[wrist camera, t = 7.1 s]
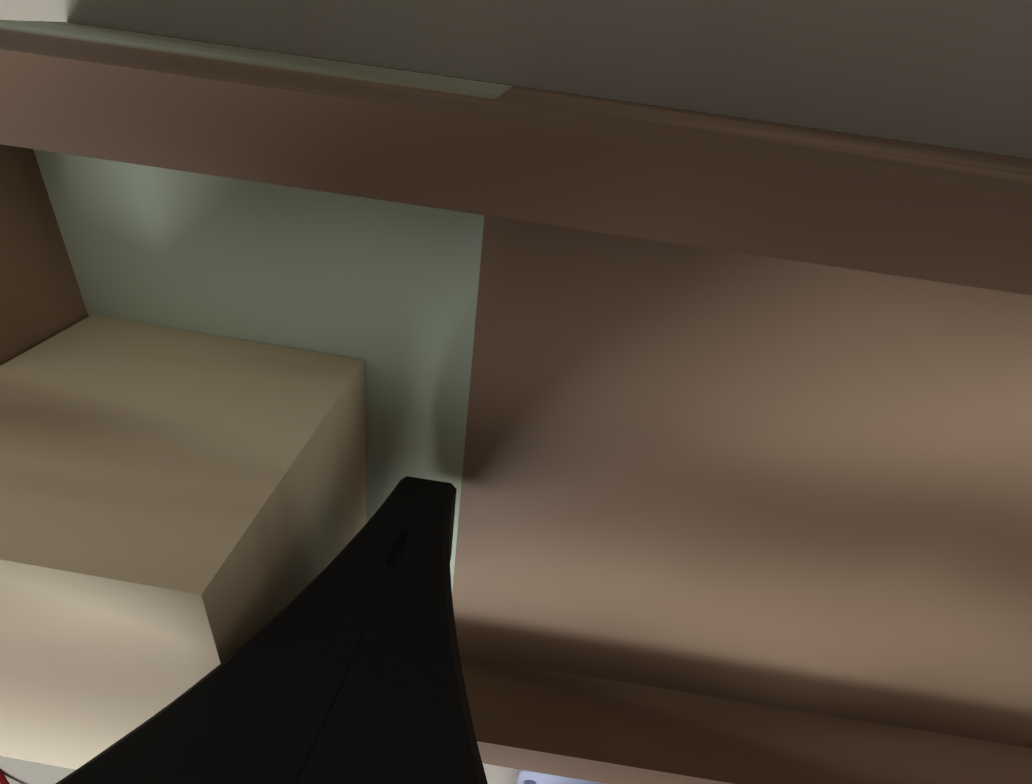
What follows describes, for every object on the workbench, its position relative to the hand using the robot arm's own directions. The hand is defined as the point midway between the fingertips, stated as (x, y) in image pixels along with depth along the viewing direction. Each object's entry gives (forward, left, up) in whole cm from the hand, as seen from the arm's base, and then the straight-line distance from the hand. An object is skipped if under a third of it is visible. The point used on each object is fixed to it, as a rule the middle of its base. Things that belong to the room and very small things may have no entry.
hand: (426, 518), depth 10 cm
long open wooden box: (0, -7, -4) cm, 8 cm away
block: (0, +4, -1) cm, 4 cm away
